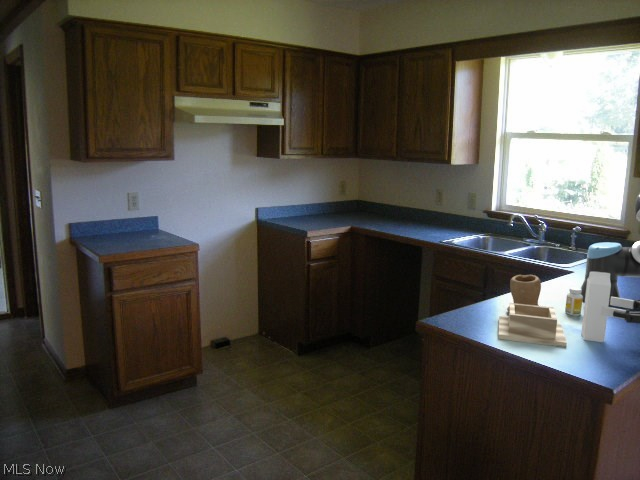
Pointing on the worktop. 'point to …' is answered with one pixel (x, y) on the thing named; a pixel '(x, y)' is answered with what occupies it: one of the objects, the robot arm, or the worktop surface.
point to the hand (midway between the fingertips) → (606, 305)
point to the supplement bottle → (574, 301)
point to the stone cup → (525, 289)
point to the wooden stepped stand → (532, 325)
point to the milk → (596, 306)
